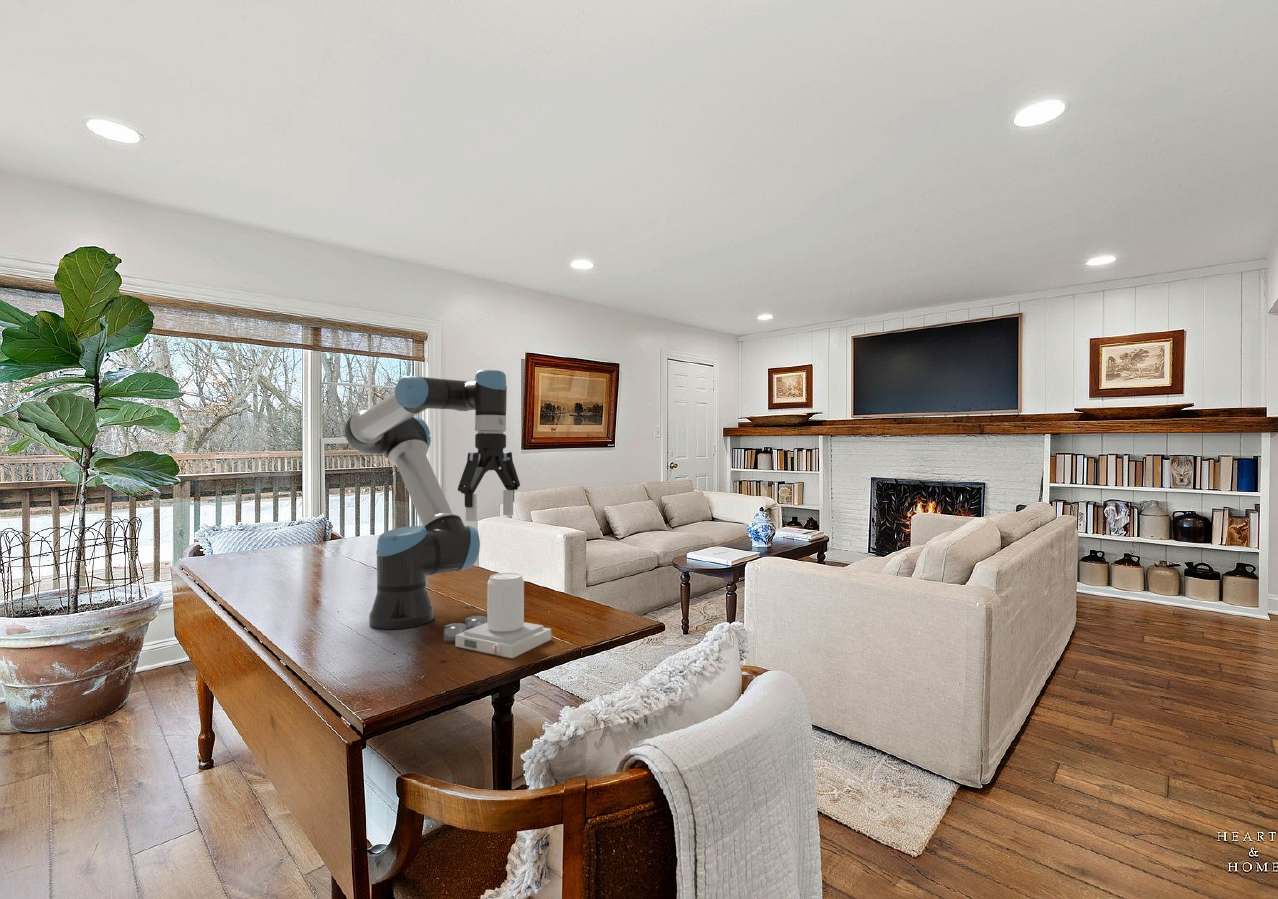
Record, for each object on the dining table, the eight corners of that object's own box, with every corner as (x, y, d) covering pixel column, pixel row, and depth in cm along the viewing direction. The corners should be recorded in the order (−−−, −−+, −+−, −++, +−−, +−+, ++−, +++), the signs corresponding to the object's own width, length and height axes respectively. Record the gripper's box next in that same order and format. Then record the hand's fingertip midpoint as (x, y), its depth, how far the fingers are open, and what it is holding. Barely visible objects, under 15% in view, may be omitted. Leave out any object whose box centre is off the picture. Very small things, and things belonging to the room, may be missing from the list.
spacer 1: (439, 640, 140) (439, 627, 140) (454, 634, 145) (454, 622, 145) (455, 644, 138) (455, 630, 138) (470, 637, 142) (470, 625, 142)
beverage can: (515, 635, 133) (515, 580, 133) (481, 632, 135) (481, 578, 135) (529, 624, 141) (529, 573, 141) (496, 622, 143) (496, 571, 143)
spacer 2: (460, 632, 146) (460, 619, 146) (475, 626, 151) (475, 614, 151) (476, 635, 144) (476, 622, 144) (491, 629, 148) (491, 617, 148)
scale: (453, 647, 135) (453, 632, 135) (497, 629, 148) (497, 616, 148) (510, 659, 128) (510, 643, 128) (551, 639, 141) (551, 625, 141)
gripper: (466, 431, 139) (466, 524, 139) (533, 433, 161) (533, 513, 161) (442, 431, 142) (441, 522, 142) (511, 433, 164) (510, 512, 164)
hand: (490, 518), depth 152 cm, fingers open, 13 cm apart
